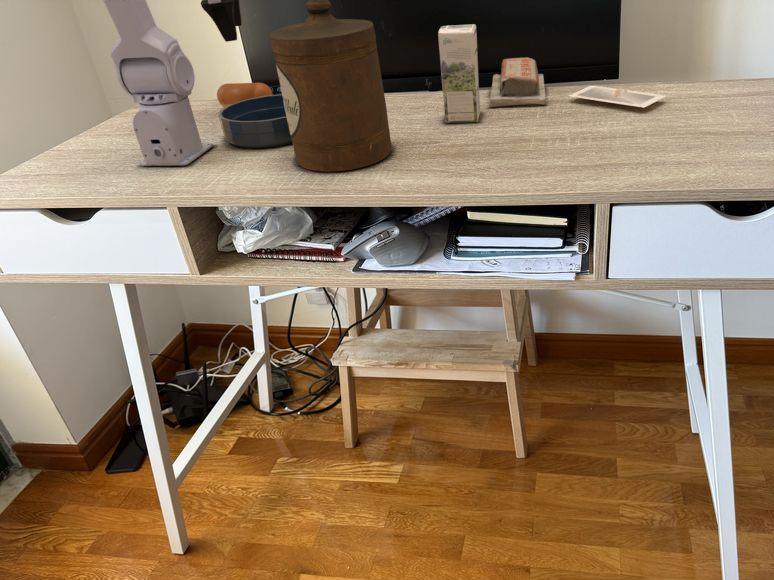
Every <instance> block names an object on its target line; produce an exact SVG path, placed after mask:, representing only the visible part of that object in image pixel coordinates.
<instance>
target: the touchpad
mask: <svg viewBox="0 0 774 580" xmlns="http://www.w3.org/2000/svg"><path fill="white" fill-rule="evenodd" d="M568 97H572V98H579V99H584V100H590V101H591V100H592V101H598V102H604V103H611V104H616V105H624V106H630V107H636V108H644V109H645V108H647V107H649V106H651V105H652V104H654V103H657V102H658V101H660V100H662V99H664V98H666V97H667V95H664V94H657V93H650V92H643V91H636V90H635V91H634V90H628V89H621V88H614V87H605V86H600V85H593V84H592V85H590V86H587V87H585V88H582V89H581V90H578V91H576V92H573V93H571V94H569V95H568Z"/></svg>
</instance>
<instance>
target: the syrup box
mask: <svg viewBox="0 0 774 580" xmlns="http://www.w3.org/2000/svg"><path fill="white" fill-rule="evenodd" d="M437 37H438V39H437V40H438V49H439V61H440V73H441V75H440V76H441V85H442V86H441V87H442V99H443V110H444V111H443V112H444V121H445V122H444V123H445V124H458V123H459V124H461V123H478V122H479V118H480V114H481V100H480V87H479V86H480V83H479V61H478V60H479V59H478V36H477V25H476V24H474V23H473V24H458V25H457V24H456V25H453V24H452V25H441V26H440V28H439V30H438V32H437Z"/></svg>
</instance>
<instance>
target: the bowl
mask: <svg viewBox="0 0 774 580" xmlns="http://www.w3.org/2000/svg"><path fill="white" fill-rule="evenodd" d="M217 116H218V119H219V122H220V126H221V130H222V134H223V137H224V139H225V140H226V142H227V143H230V144H231V145H233V146H236V147H239V148H245V149H267V148H276V147H281V146H282V147H283V146H286V145H291V144H293V143H292V139H291V135H290V130H289V126H288V122H287V117H286V112H285V108H284V103H283V97H282V93H281V94H280V93H279V94H273V95H269V96H262V97H256V98H251V99H247V100H243V101H240V102H236V103H234V104H231V105H229V106H227V107H225V108H224V109H223V108H222V109H221V110H220V111H219V113H218V114H217Z"/></svg>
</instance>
